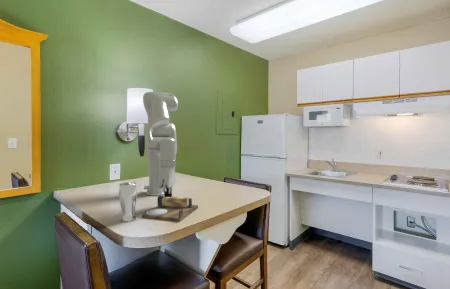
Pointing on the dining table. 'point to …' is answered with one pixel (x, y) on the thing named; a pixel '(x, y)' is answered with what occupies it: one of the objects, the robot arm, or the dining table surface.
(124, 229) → the dining table surface
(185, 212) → the seat board
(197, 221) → the dining table surface
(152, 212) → the felt pad
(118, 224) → the dining table surface
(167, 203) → the leg
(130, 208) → the beer glass
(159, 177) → the robot arm
